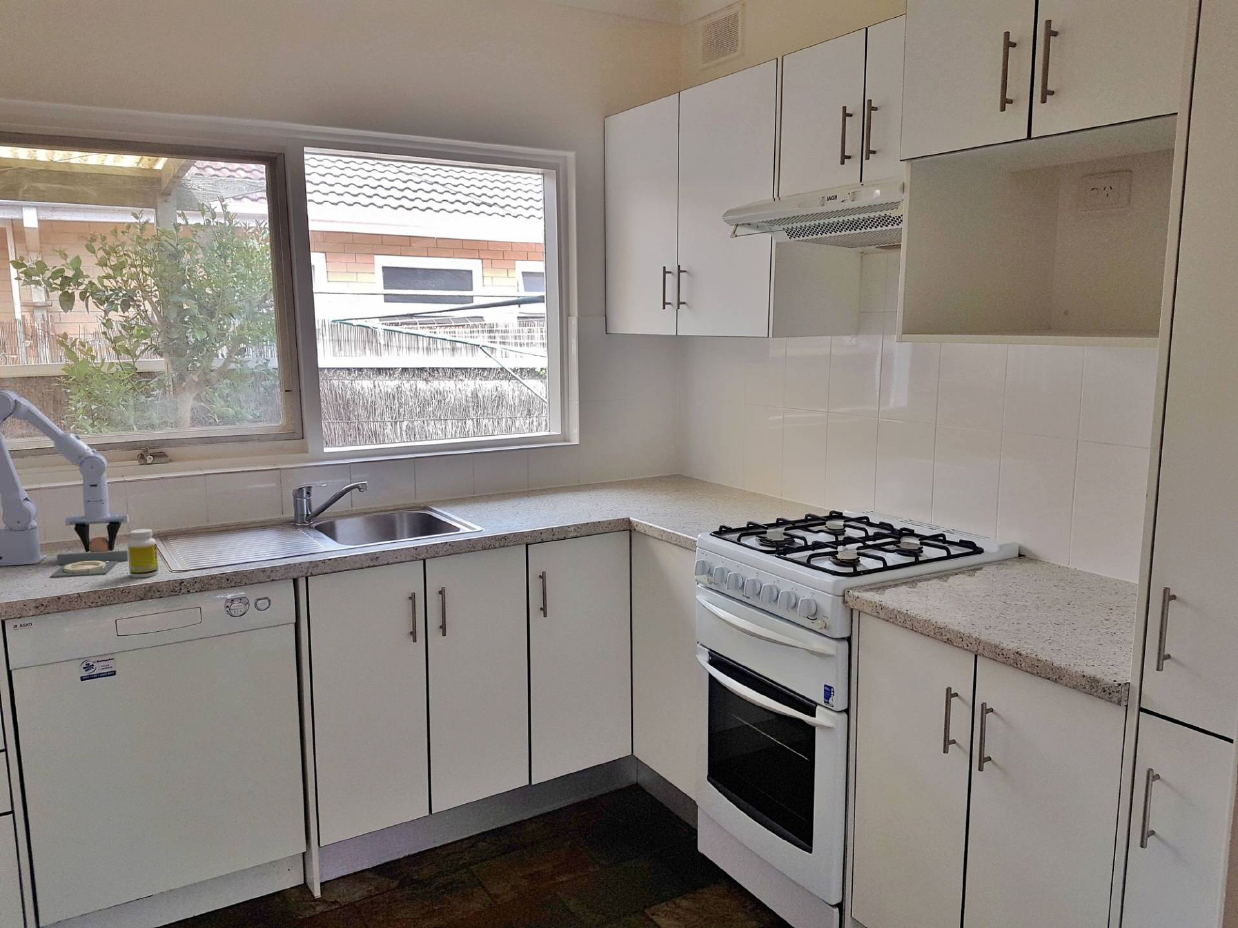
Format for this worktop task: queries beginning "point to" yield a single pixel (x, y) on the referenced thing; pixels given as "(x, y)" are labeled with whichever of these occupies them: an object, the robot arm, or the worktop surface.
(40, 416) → the robot arm
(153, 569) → the pill bottle
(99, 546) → the ball
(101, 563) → the slate mat
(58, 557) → the acrylic wall
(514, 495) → the worktop surface
